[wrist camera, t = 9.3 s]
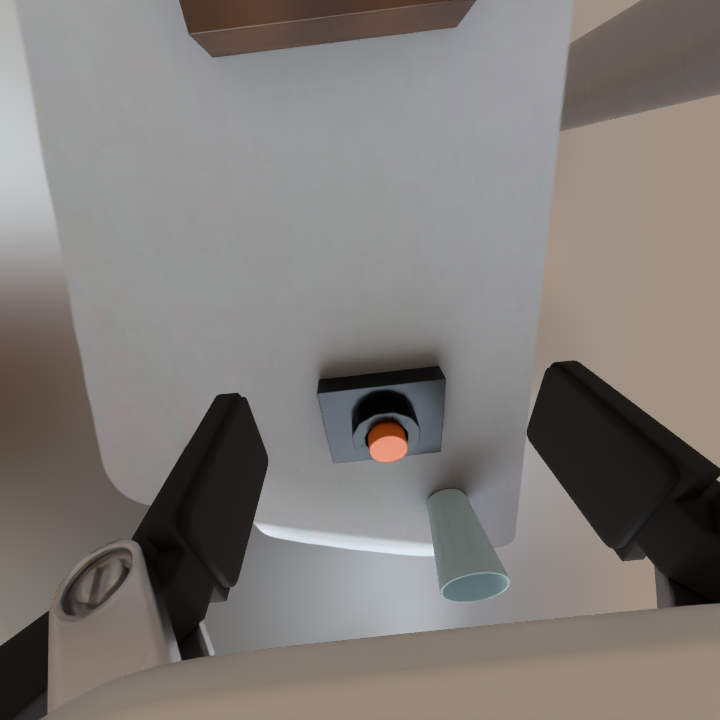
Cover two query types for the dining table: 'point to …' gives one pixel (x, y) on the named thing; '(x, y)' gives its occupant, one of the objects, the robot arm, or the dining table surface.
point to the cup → (463, 550)
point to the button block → (383, 410)
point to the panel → (310, 21)
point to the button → (387, 442)
